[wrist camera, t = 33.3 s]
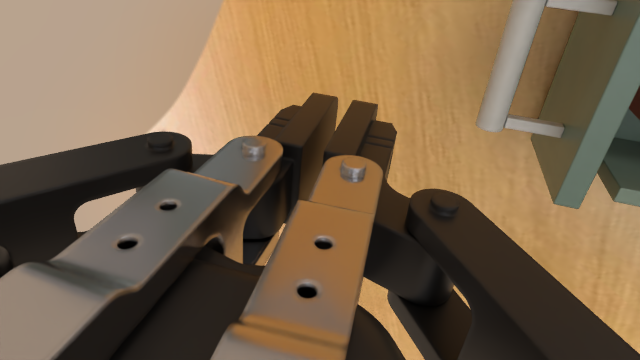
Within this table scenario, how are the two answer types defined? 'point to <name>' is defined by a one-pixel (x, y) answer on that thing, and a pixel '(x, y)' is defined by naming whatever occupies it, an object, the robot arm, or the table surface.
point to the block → (636, 104)
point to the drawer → (576, 98)
